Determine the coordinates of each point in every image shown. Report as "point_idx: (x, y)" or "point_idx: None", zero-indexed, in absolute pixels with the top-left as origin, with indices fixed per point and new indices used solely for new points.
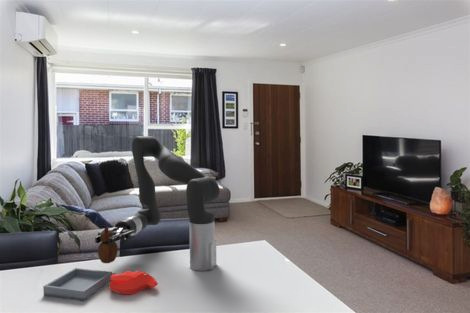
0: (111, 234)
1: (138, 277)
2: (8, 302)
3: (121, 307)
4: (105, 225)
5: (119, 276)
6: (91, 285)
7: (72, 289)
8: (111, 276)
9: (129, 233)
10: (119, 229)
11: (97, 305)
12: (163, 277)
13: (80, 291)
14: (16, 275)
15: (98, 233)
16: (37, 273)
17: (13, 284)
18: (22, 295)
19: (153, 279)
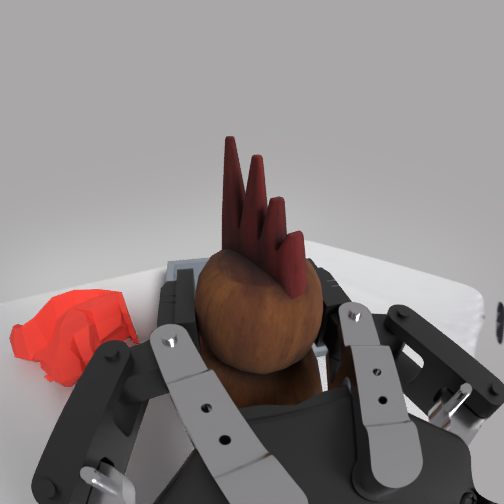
0: (197, 281)
1: (43, 308)
2: (316, 245)
3: (82, 287)
4: (227, 167)
5: (95, 298)
6: (169, 280)
7: (203, 259)
8: (119, 293)
9: (65, 425)
10: (254, 454)
11: (132, 280)
12: (10, 422)
13: (178, 261)
14: (446, 290)
15: (392, 307)
16: (433, 313)
17: (398, 273)
18: (326, 260)
19: (13, 327)
